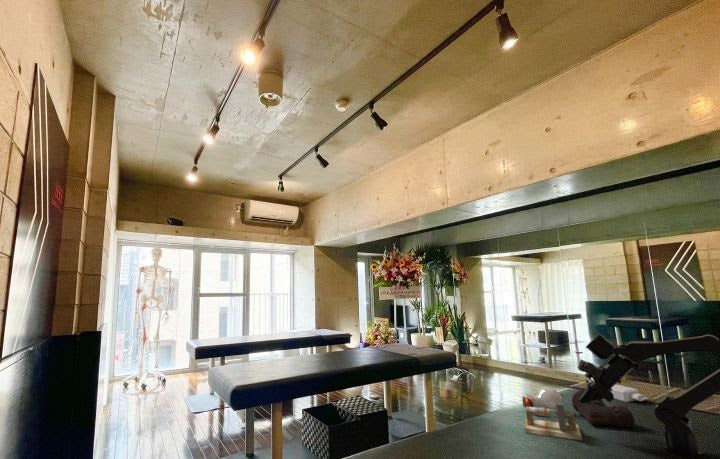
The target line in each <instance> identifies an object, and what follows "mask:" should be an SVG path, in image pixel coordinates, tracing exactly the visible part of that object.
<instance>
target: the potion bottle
mask: <svg viewBox="0 0 720 459" xmlns="http://www.w3.org/2000/svg"><path fill="white" fill-rule="evenodd" d="M562 397H563V396H562V395H561V394H560V393H559V391H557V390H556V389H554V388H553V387H551V386H542V387H540V388H538V390H537V392H536V395H534V396H532V395H530V394H526V397H525V396H522V405H523V407H524V408H525V409H526V407H536V408H546V409H555V410H557V407H556V399H555V398H559V399H562ZM562 400H563V399H562Z"/></svg>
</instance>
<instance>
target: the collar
mask: <svg viewBox="0 0 720 459" xmlns="http://www.w3.org/2000/svg"><path fill="white" fill-rule="evenodd" d="M555 399H556V407H557V412H558V417H557V422H559V427H560V430H564V431H567V429H566V422H567V421H566V418H565V414H564V410H565V408H564V407H565V406H564V402H563V399H559V398H555Z"/></svg>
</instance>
